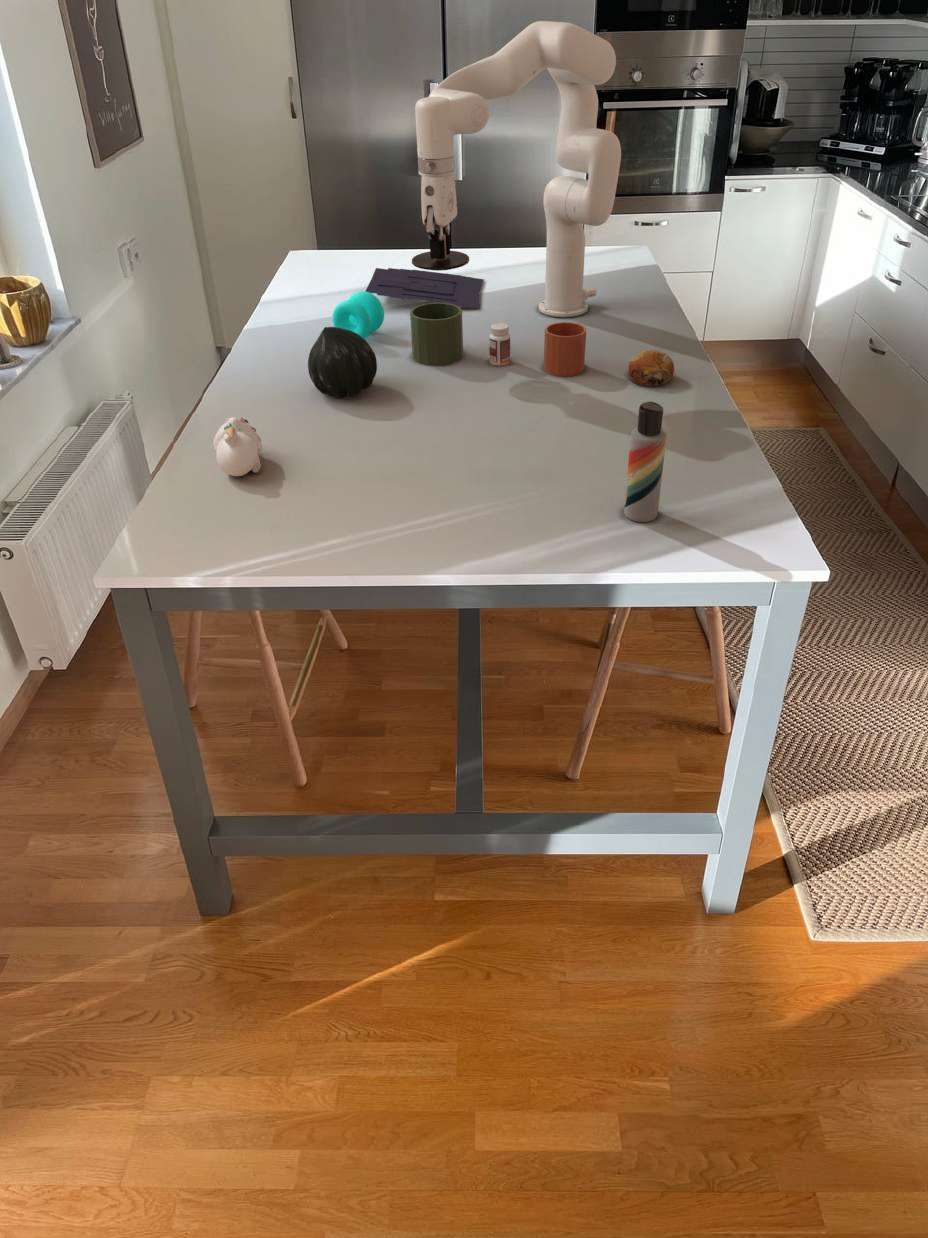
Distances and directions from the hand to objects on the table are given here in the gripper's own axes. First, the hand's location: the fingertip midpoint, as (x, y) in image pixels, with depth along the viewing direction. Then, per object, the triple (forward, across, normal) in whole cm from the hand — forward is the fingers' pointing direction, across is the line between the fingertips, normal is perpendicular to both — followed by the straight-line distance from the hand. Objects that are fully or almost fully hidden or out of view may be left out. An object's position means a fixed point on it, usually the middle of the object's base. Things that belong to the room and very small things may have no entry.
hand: (440, 255), depth 209 cm
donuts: (+23, +6, +24) cm, 34 cm away
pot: (+23, 0, +2) cm, 23 cm away
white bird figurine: (+22, -62, +20) cm, 68 cm away
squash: (+23, -25, +14) cm, 36 cm away
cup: (+23, 0, -28) cm, 36 cm away
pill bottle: (+23, 0, -13) cm, 27 cm away
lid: (+1, 0, 0) cm, 1 cm away
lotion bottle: (+23, -59, -56) cm, 84 cm away
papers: (+23, +40, +19) cm, 50 cm away
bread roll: (+23, -1, -48) cm, 53 cm away
